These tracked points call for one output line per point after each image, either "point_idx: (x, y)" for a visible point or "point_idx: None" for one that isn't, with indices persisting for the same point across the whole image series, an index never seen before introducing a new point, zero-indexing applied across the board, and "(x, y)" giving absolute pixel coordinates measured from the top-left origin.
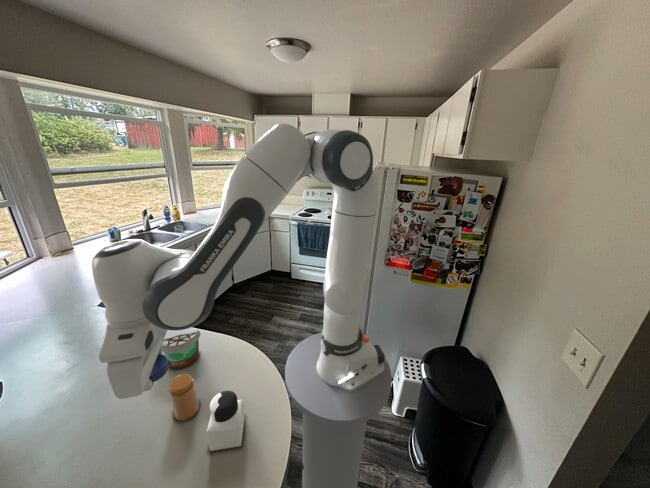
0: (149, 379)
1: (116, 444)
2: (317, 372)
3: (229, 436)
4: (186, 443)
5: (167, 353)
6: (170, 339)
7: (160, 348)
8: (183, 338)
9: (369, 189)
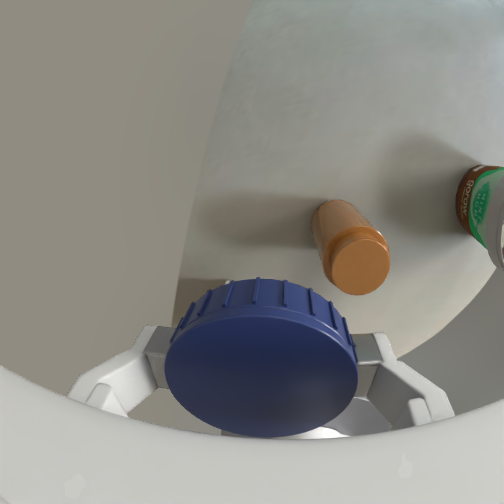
0: (132, 407)
1: (296, 89)
2: None
3: None
4: (254, 235)
5: (493, 186)
6: None
7: (385, 414)
8: None
9: None
